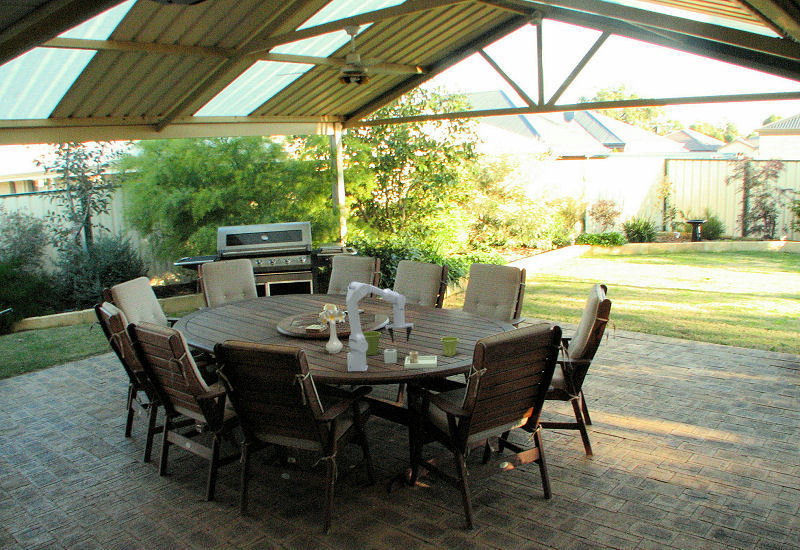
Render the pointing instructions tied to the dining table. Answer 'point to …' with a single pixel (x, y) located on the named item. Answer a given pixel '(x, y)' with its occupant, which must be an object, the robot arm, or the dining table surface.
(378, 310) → the dining table surface
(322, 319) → the flower vase
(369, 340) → the plant pot
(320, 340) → the dining table surface
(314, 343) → the dining table surface
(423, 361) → the tray
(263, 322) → the dining table surface
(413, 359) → the small block
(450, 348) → the plant pot
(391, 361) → the large block
